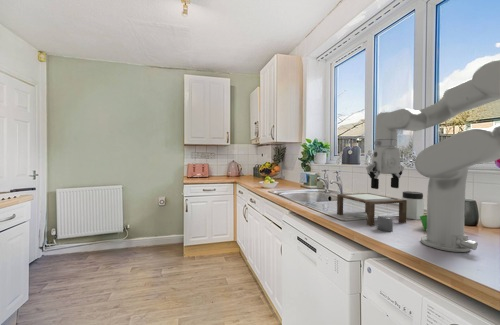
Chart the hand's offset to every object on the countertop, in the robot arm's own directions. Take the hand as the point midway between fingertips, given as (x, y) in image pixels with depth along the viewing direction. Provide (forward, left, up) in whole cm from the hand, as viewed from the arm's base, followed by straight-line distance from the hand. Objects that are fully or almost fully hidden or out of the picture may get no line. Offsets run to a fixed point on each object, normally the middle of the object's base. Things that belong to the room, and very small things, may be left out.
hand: (384, 188), depth 97 cm
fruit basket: (-5, -21, -17) cm, 27 cm away
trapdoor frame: (+17, -8, -16) cm, 25 cm away
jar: (+13, -29, -17) cm, 36 cm away
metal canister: (0, 0, -17) cm, 17 cm away
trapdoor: (+17, -8, -8) cm, 20 cm away
